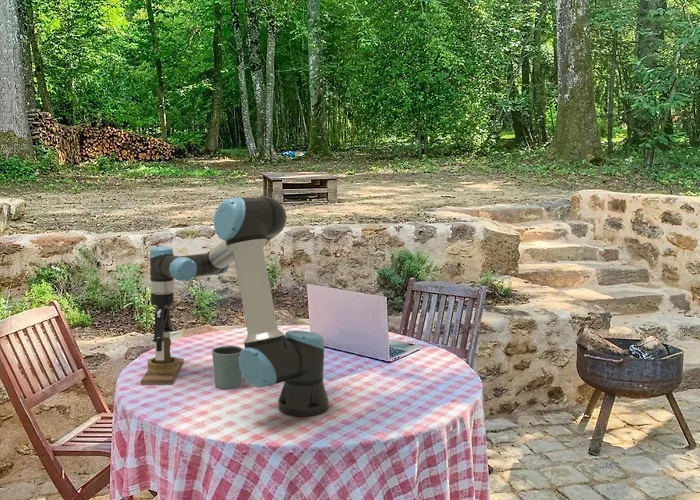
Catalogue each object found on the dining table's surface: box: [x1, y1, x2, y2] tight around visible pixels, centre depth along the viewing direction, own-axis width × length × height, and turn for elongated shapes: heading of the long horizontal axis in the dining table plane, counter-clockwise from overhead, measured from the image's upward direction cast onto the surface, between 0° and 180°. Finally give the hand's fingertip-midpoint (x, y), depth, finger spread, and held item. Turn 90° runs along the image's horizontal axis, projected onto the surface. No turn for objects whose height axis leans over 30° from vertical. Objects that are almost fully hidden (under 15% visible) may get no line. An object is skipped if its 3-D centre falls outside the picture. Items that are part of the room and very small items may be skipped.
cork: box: [155, 337, 172, 364], centre depth 224 cm, size 6×6×11 cm
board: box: [140, 356, 185, 386], centre depth 224 cm, size 24×10×4 cm, turn 6°
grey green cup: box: [211, 345, 243, 390], centre depth 213 cm, size 10×10×12 cm
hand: (163, 354), depth 224 cm, fingers open, 11 cm apart
